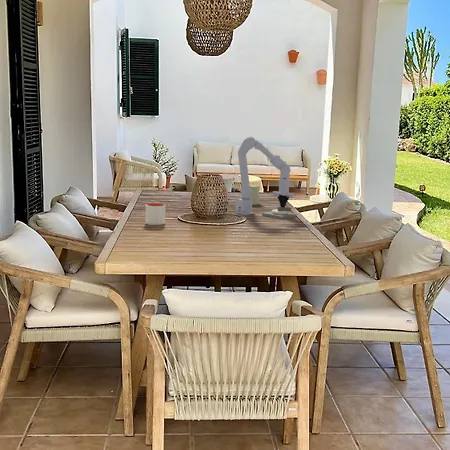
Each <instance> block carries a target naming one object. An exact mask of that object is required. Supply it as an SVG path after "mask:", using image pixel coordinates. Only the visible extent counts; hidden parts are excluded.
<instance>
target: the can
mask: <svg viewBox="0 0 450 450" xmlns="http://www.w3.org/2000/svg"><path fill="white" fill-rule="evenodd" d="M250 187H251V189H252V195H251V197H252V206H255V205H259V204H260V185H255V184H250Z"/></svg>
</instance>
